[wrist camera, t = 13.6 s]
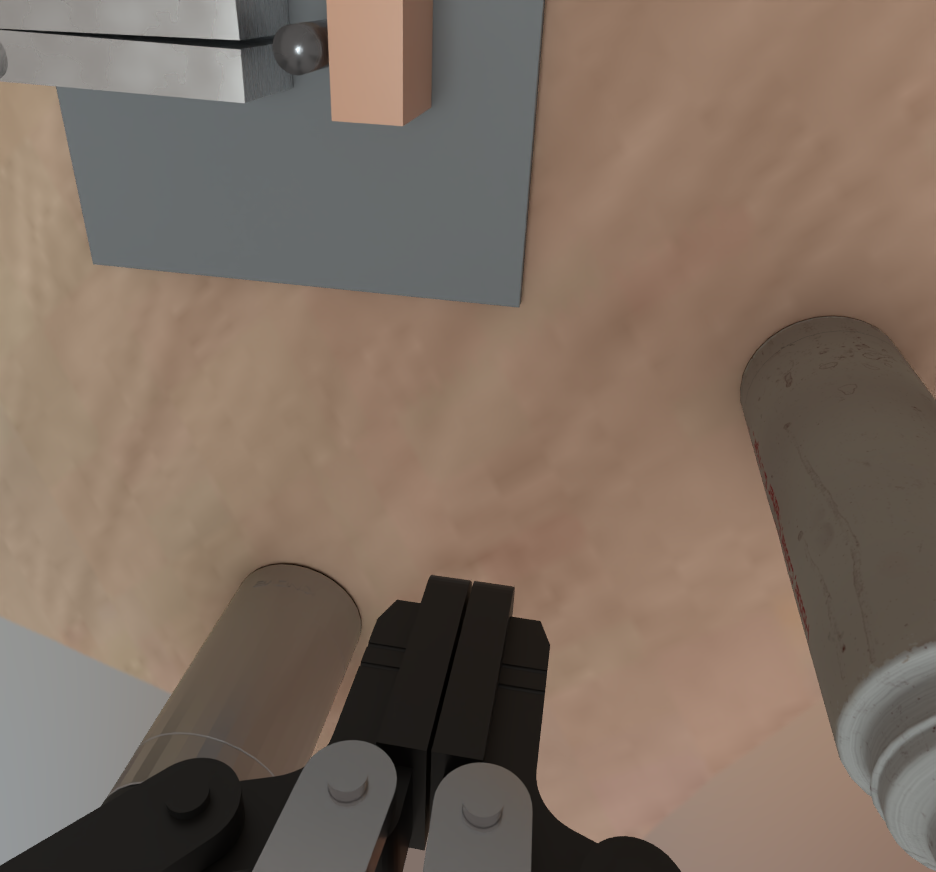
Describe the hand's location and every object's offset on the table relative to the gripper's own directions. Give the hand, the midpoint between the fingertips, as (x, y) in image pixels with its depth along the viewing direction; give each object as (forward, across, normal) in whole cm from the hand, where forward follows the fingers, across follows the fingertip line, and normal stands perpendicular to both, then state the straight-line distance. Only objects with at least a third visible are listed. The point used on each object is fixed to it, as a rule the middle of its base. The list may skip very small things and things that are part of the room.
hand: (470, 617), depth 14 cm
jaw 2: (+28, +20, -6) cm, 35 cm away
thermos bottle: (+29, -14, +8) cm, 33 cm away
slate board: (+29, +14, -5) cm, 33 cm away
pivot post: (+29, +11, -7) cm, 32 cm away
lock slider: (+28, +8, -7) cm, 30 cm away
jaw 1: (+28, +20, -8) cm, 35 cm away
